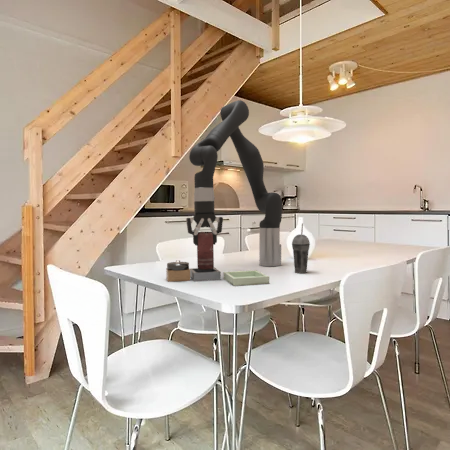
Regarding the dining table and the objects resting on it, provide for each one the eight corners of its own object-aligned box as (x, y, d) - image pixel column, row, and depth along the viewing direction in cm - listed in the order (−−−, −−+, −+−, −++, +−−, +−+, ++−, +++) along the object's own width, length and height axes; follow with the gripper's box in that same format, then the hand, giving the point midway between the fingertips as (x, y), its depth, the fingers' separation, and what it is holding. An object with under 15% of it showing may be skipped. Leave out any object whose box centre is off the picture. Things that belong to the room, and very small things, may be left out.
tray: (256, 276, 137) (256, 270, 137) (269, 283, 124) (269, 276, 124) (223, 278, 134) (223, 272, 133) (233, 286, 121) (233, 278, 121)
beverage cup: (288, 272, 146) (288, 223, 145) (297, 270, 151) (297, 222, 150) (303, 274, 141) (304, 224, 140) (313, 272, 146) (313, 223, 145)
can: (205, 266, 140) (205, 231, 139) (217, 268, 135) (216, 231, 134) (193, 268, 135) (193, 232, 134) (205, 270, 131) (204, 232, 130)
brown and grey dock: (214, 274, 141) (214, 257, 141) (220, 279, 132) (220, 260, 131) (165, 277, 136) (165, 259, 136) (168, 282, 127) (168, 263, 126)
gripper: (220, 200, 139) (221, 243, 140) (183, 200, 135) (184, 244, 136) (225, 199, 132) (226, 245, 133) (186, 200, 128) (187, 246, 129)
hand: (205, 244), depth 135 cm, fingers closed on can, 6 cm apart
